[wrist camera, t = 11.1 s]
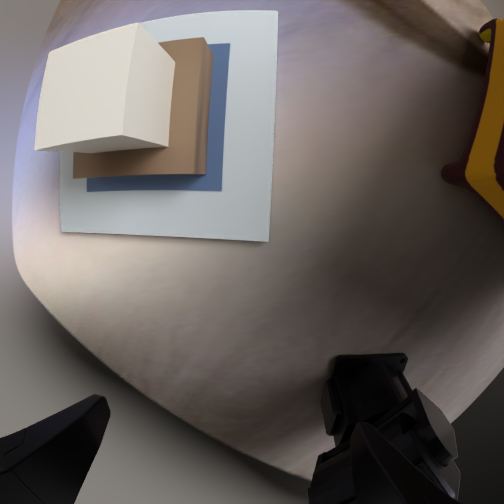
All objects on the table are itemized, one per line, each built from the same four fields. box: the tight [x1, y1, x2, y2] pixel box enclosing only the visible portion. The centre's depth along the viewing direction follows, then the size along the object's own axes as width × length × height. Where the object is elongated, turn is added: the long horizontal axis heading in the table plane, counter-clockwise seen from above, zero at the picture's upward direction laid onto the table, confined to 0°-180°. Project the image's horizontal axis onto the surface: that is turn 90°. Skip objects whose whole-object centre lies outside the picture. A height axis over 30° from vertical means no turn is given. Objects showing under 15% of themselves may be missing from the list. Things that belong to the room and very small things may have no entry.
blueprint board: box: [59, 10, 278, 242], centre depth 15 cm, size 16×16×4 cm
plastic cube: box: [35, 23, 175, 153], centre depth 11 cm, size 5×5×5 cm
